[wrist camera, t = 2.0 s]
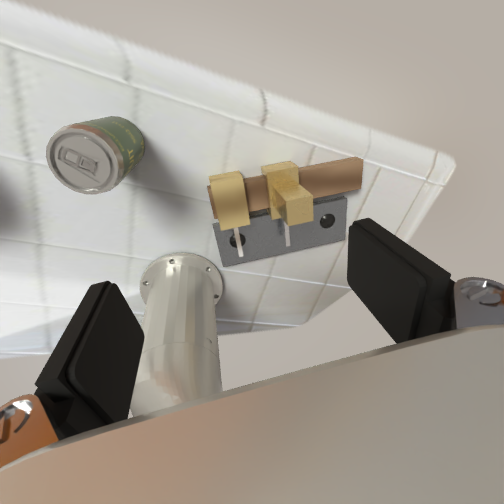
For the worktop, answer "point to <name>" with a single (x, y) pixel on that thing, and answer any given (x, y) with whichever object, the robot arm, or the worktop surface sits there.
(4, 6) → the worktop surface
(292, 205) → the slider head
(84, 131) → the green soda can
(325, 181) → the rail
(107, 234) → the worktop surface
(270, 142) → the worktop surface
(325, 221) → the hole plate
